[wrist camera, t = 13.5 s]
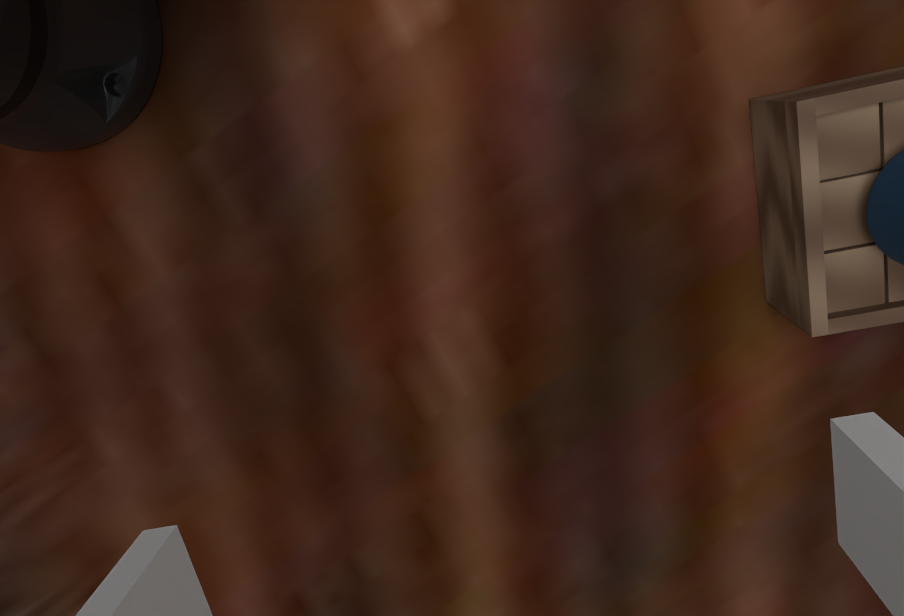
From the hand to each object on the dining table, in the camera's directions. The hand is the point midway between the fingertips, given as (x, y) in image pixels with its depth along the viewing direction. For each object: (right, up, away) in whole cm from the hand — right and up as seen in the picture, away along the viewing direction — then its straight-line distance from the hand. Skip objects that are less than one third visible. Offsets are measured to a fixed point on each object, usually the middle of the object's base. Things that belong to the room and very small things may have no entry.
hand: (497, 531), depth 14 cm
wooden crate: (+25, +12, +29) cm, 40 cm away
